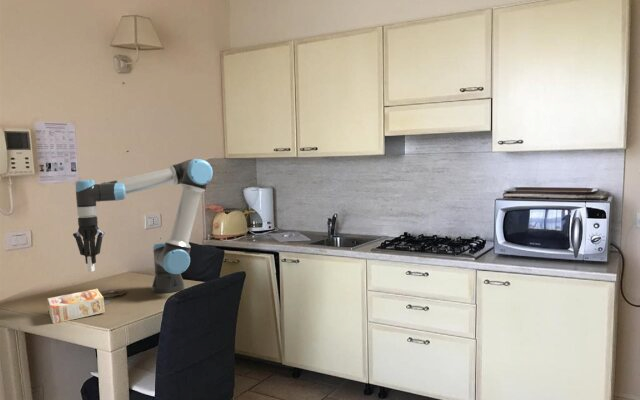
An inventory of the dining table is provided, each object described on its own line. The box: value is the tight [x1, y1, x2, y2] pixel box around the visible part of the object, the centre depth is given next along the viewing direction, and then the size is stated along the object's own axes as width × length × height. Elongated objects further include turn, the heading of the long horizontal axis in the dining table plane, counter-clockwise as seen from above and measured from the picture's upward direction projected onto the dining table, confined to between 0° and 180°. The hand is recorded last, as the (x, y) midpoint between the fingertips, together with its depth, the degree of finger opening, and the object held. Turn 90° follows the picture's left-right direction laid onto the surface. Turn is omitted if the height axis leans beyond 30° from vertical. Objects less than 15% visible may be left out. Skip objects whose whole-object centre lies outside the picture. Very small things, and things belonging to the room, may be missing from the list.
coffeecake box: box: [47, 288, 106, 324], centre depth 214 cm, size 15×7×20 cm
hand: (91, 271), depth 221 cm, fingers closed
